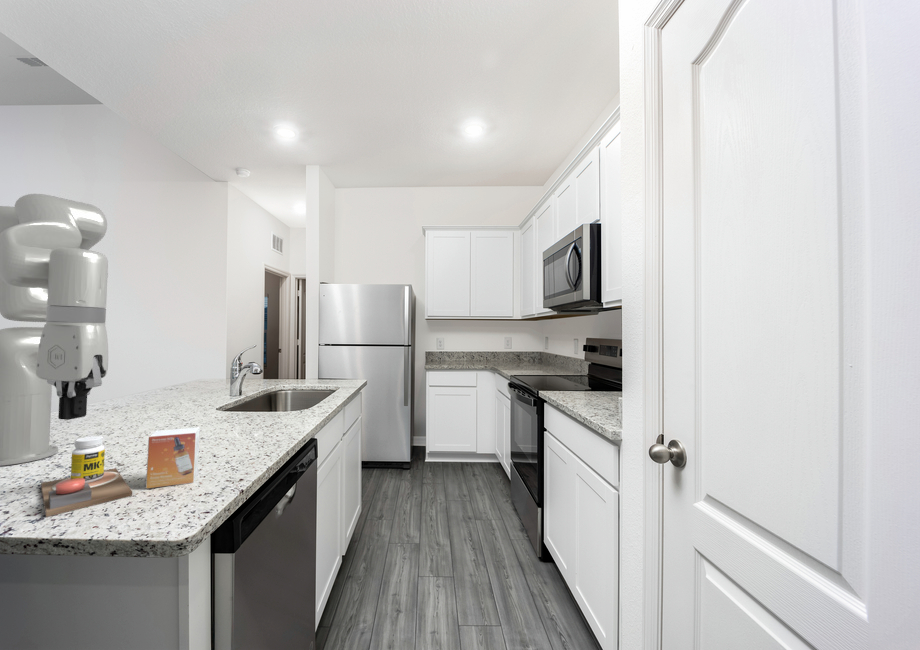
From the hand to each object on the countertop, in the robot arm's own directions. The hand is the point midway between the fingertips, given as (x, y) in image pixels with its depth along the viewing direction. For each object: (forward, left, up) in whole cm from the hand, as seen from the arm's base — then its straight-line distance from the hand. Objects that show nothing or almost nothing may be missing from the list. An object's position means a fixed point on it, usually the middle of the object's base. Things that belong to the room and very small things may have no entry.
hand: (72, 417), depth 68 cm
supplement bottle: (-6, +7, -15) cm, 17 cm away
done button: (0, 0, -13) cm, 13 cm away
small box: (+9, +12, -16) cm, 22 cm away
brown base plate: (-3, +5, -16) cm, 17 cm away
